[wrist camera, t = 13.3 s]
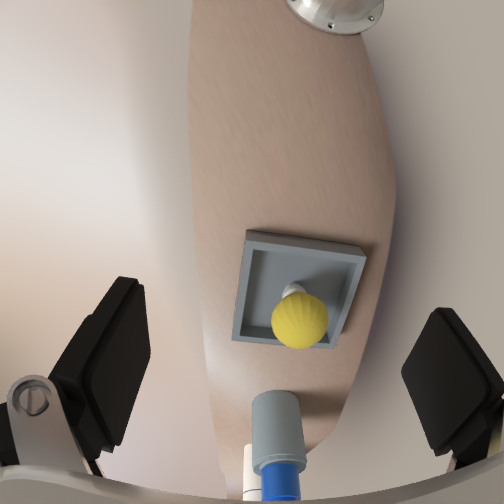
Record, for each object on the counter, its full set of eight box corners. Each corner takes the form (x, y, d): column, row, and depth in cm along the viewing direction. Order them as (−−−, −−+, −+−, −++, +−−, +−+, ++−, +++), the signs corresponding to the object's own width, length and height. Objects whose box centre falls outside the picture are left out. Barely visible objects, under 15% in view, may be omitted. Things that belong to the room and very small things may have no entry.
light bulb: (258, 298, 41) (260, 347, 32) (286, 259, 39) (296, 304, 30) (299, 317, 42) (309, 367, 33) (327, 282, 40) (346, 328, 31)
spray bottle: (267, 384, 50) (272, 516, 27) (308, 397, 52) (326, 517, 29) (243, 409, 53) (240, 527, 30) (282, 420, 55) (290, 530, 32)
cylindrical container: (280, 445, 59) (286, 540, 36) (265, 457, 62) (268, 545, 39) (252, 439, 58) (252, 539, 35) (239, 451, 61) (236, 543, 38)
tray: (246, 229, 38) (245, 240, 35) (358, 245, 39) (366, 256, 36) (232, 325, 44) (231, 340, 41) (329, 334, 45) (334, 348, 42)
